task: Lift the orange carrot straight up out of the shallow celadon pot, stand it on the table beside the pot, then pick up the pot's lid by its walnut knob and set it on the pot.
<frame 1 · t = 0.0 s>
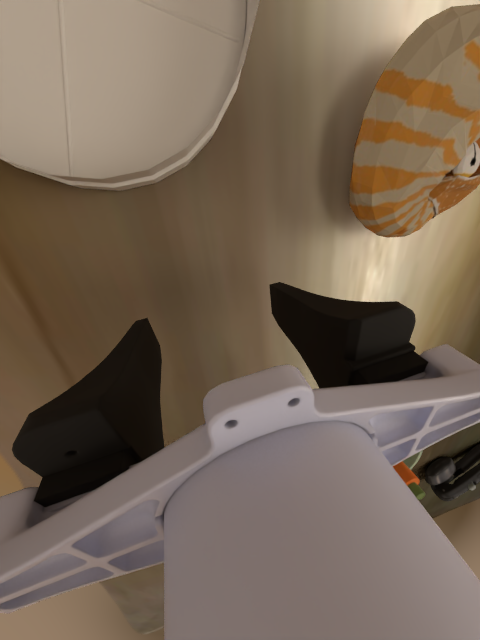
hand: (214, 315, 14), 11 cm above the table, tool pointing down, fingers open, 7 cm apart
nautilus: (418, 151, 24), on the table
carrot: (372, 441, 41), resting on pot
can opener: (453, 456, 51), on the table
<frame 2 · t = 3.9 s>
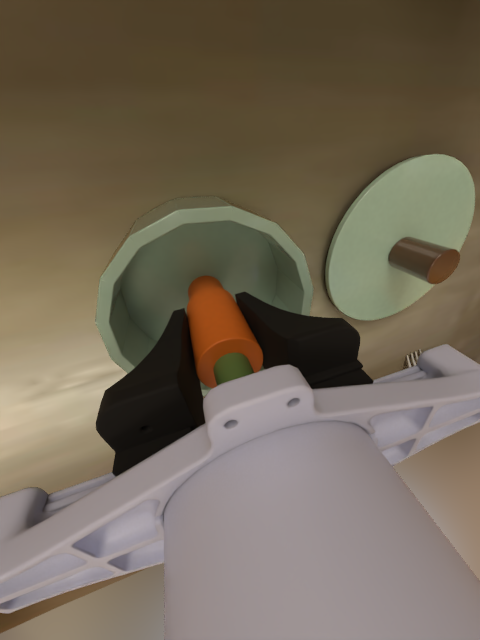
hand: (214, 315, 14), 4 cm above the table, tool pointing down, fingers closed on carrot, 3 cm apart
lid: (396, 250, 19), point 1 cm above the table
pot: (205, 289, 17), on the table
carrot: (205, 291, 16), resting on pot, touching gripper
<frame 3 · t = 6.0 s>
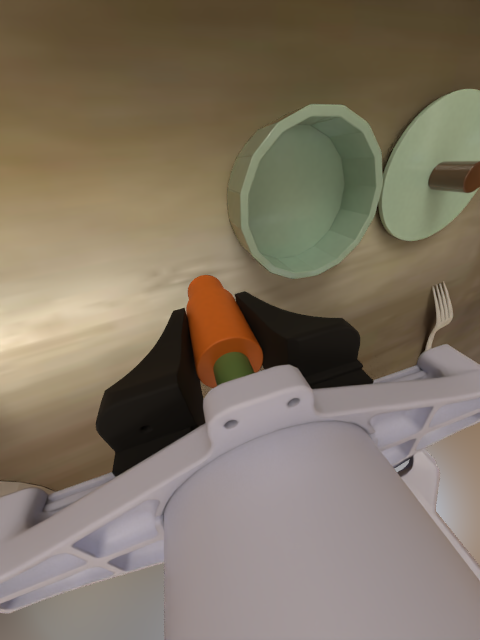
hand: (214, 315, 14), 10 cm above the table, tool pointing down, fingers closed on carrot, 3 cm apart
lid: (434, 175, 23), point 1 cm above the table
pot: (289, 199, 22), on the table
fork: (425, 336, 39), on the table
carrot: (205, 291, 16), point 7 cm above the table, touching gripper
when the fingers open (3 cm above the table, at t = 8.1 s): carrot stays where it is, on the table.
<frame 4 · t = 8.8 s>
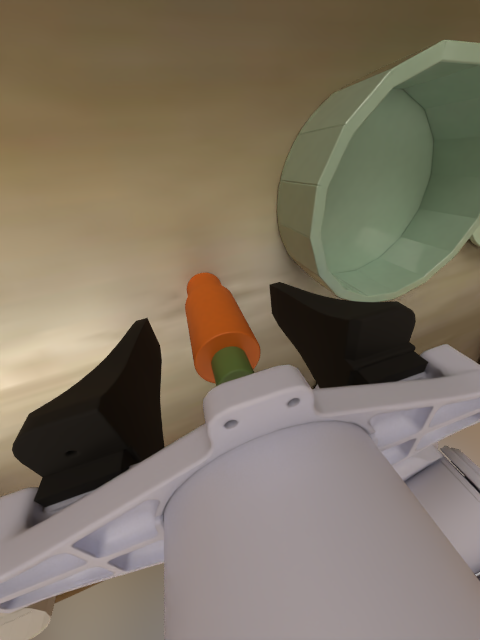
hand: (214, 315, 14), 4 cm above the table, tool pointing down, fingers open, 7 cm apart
pot: (357, 196, 16), on the table
carrot: (204, 288, 17), on the table
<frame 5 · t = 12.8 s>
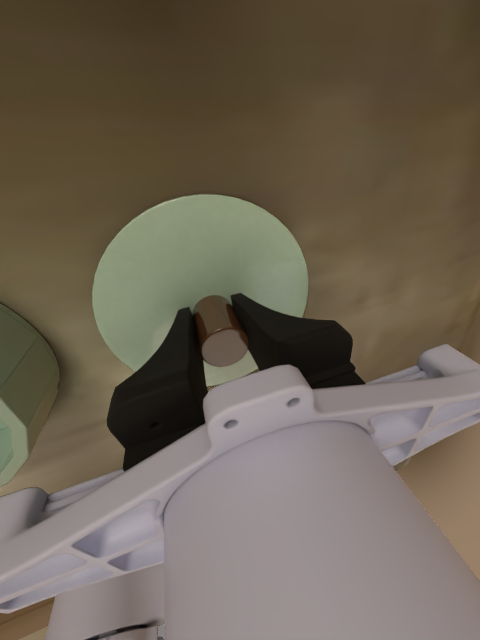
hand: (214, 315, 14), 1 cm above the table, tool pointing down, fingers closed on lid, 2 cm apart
lid: (211, 308, 14), point 1 cm above the table, touching gripper
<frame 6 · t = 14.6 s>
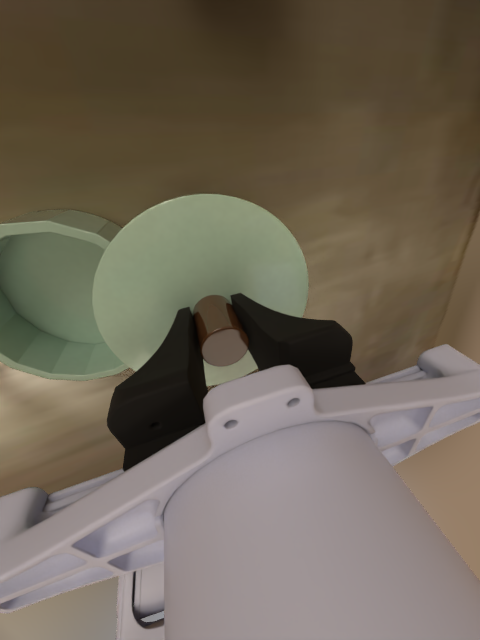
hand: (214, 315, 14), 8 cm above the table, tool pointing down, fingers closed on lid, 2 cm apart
lid: (211, 308, 14), point 8 cm above the table, touching gripper
pot: (87, 288, 19), on the table
when the fingers open (5 cm above the table, at t = 16.8 s): lid stays where it is, resting on pot.
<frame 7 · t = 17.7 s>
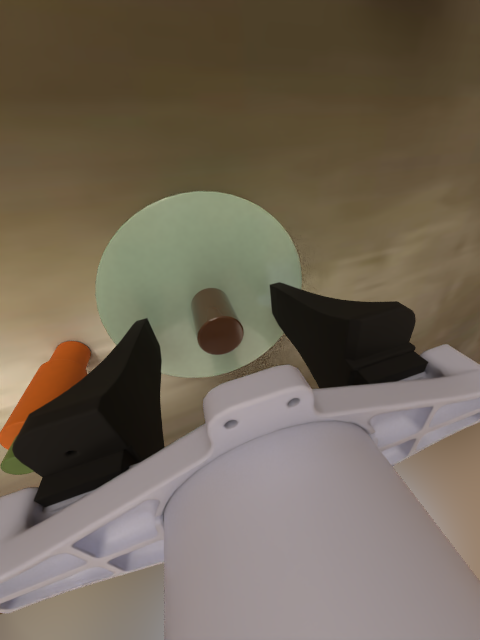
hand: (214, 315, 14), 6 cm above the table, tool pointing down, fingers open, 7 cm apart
lid: (209, 301, 15), point 4 cm above the table, touching pot
carrot: (73, 352, 19), on the table
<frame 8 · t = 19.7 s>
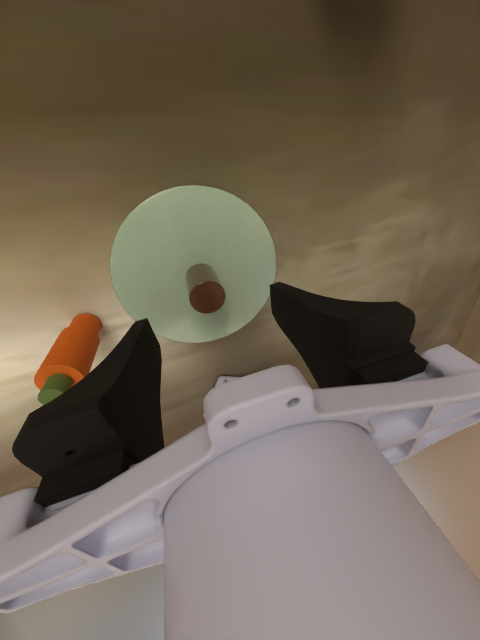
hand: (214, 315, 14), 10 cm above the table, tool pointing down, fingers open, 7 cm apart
lid: (200, 275, 19), point 4 cm above the table, touching pot
carrot: (87, 324, 23), on the table
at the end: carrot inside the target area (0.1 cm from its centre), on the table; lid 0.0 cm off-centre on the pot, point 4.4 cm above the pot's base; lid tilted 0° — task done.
